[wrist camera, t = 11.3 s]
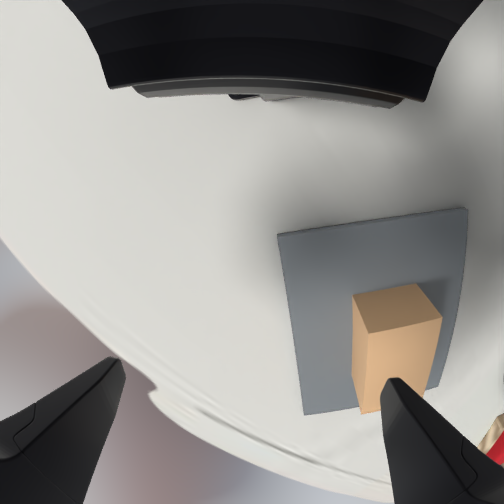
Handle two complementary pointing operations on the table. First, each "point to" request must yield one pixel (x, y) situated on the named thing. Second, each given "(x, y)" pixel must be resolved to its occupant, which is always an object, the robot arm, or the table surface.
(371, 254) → the mat
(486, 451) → the organizer frame
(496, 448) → the red device housing
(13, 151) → the table surface
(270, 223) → the table surface
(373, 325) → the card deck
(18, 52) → the table surface
